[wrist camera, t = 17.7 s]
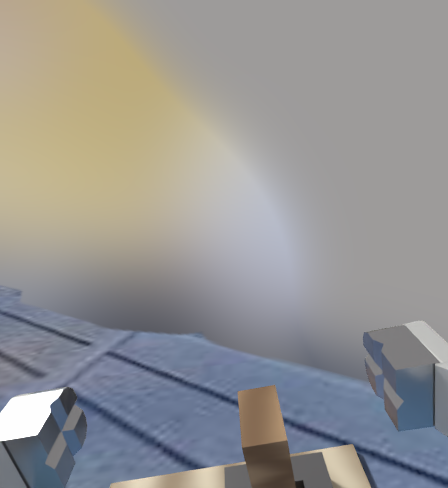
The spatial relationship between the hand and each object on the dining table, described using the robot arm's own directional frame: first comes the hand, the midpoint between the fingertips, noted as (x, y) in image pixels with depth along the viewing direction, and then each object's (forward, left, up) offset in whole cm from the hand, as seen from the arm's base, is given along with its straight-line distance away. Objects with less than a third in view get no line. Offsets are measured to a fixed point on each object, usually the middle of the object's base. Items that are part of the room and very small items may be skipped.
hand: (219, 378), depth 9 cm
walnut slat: (+11, +3, -29) cm, 32 cm away
